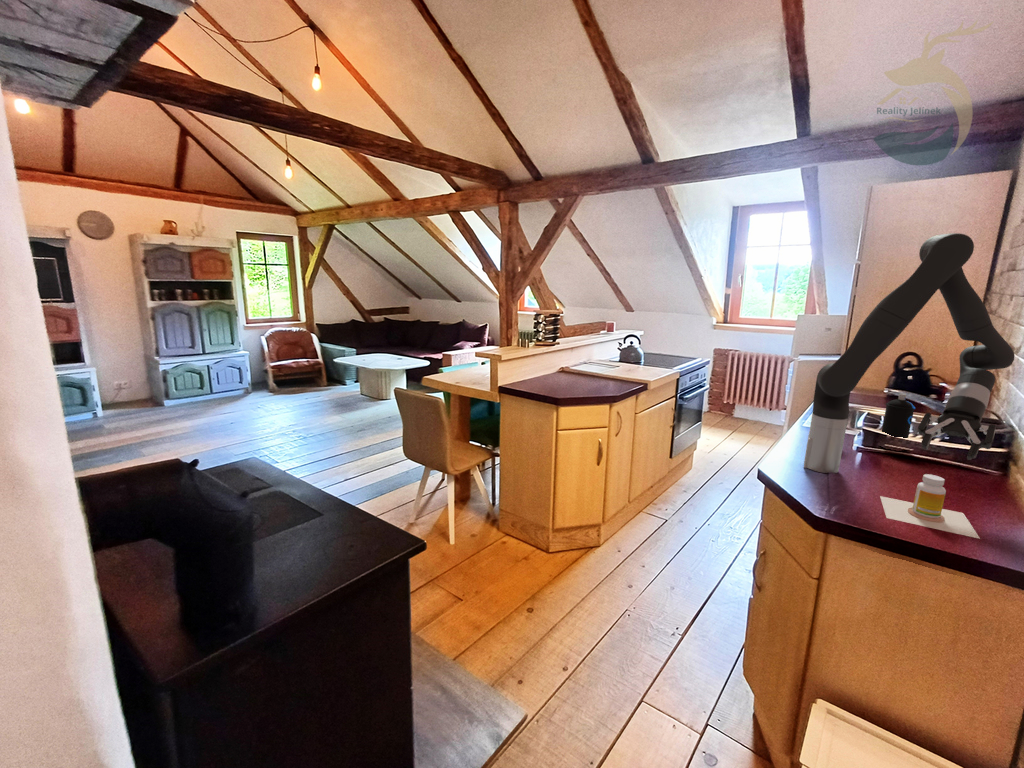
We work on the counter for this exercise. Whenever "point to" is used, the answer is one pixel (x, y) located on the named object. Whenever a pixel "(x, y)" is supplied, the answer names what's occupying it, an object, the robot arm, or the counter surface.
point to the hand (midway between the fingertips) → (946, 453)
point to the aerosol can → (898, 417)
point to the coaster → (925, 517)
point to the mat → (951, 523)
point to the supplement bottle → (929, 496)
